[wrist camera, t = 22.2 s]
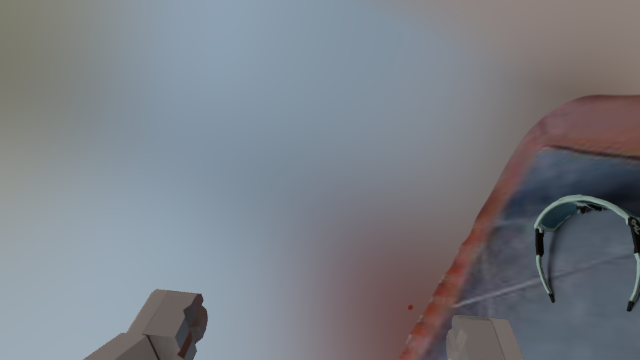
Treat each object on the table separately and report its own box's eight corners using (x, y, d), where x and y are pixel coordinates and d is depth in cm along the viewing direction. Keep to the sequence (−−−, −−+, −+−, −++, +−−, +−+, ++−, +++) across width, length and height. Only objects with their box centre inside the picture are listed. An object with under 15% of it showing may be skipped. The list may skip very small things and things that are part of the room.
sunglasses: (652, 194, 44) (623, 184, 43) (663, 317, 40) (631, 310, 39) (551, 210, 57) (527, 203, 56) (551, 304, 53) (525, 298, 52)
